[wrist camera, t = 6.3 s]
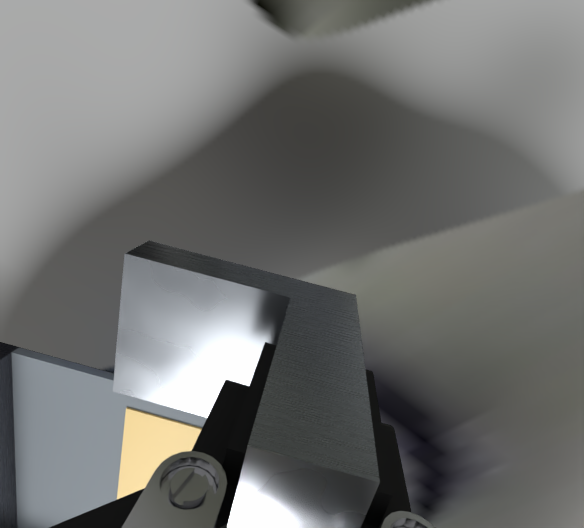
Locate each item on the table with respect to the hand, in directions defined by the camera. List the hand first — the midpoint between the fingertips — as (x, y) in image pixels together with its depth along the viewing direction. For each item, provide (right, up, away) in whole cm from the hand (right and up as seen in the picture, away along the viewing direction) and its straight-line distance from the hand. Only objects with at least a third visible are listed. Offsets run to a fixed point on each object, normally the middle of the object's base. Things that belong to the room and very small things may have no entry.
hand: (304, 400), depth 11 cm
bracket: (-2, +2, +2) cm, 4 cm away
